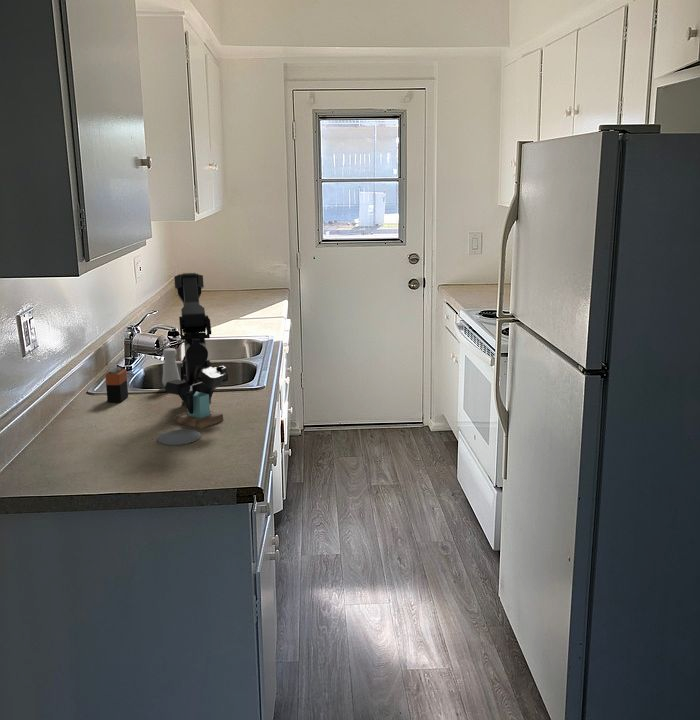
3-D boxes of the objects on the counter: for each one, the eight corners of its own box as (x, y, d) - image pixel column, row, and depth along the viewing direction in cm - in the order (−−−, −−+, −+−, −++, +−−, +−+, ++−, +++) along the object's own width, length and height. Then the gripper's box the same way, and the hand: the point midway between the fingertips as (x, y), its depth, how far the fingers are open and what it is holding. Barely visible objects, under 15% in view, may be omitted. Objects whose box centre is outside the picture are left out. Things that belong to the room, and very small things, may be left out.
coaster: (148, 440, 197) (148, 437, 196) (180, 428, 205) (180, 426, 205) (177, 448, 190) (177, 446, 190) (209, 436, 199) (208, 434, 199)
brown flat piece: (175, 422, 211) (175, 415, 210) (198, 414, 218) (197, 408, 217) (200, 428, 205) (200, 421, 205) (223, 420, 212) (222, 413, 212)
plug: (188, 421, 212) (187, 394, 210) (197, 418, 214) (196, 391, 212) (201, 424, 209) (199, 397, 207) (210, 421, 211) (208, 394, 210)
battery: (107, 402, 230) (104, 371, 228) (115, 396, 237) (112, 365, 234) (121, 403, 230) (118, 371, 227) (128, 396, 236) (126, 365, 234)
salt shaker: (161, 386, 248) (159, 347, 245) (179, 384, 250) (177, 346, 247) (164, 390, 243) (161, 351, 240) (182, 388, 245) (179, 349, 242)
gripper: (190, 367, 195) (194, 425, 199) (240, 354, 210) (243, 407, 214) (161, 362, 202) (165, 417, 205) (212, 349, 216) (215, 401, 220)
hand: (198, 411), depth 211 cm, fingers open, 5 cm apart
